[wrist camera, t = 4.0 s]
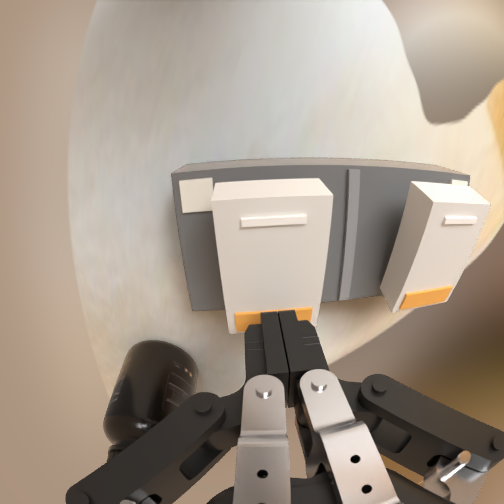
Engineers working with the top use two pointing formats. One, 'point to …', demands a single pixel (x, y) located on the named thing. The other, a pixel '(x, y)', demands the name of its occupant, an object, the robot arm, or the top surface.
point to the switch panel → (342, 221)
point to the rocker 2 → (432, 244)
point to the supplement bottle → (147, 391)
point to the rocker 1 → (271, 247)
